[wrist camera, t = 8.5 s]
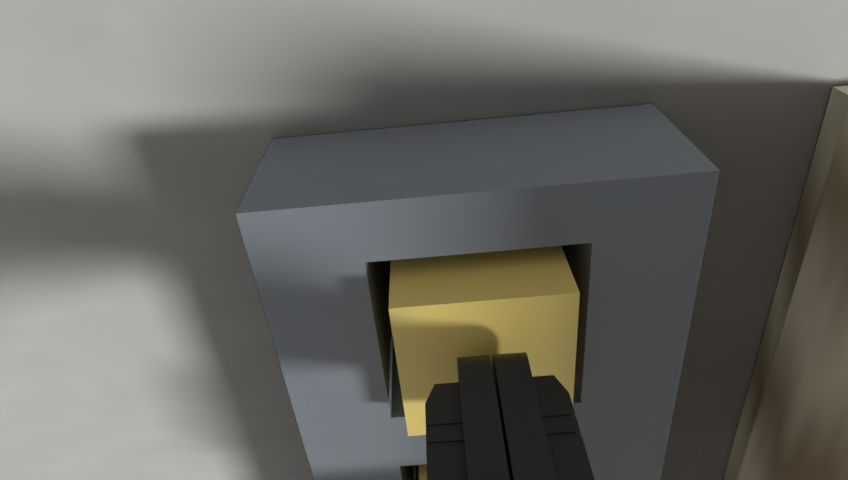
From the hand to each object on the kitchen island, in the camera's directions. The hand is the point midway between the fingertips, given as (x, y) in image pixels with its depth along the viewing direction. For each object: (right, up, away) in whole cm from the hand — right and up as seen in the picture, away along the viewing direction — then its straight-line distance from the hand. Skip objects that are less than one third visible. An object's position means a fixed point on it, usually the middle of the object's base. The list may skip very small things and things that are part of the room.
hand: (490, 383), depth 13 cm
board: (0, -3, +9) cm, 9 cm away
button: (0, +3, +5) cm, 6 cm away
